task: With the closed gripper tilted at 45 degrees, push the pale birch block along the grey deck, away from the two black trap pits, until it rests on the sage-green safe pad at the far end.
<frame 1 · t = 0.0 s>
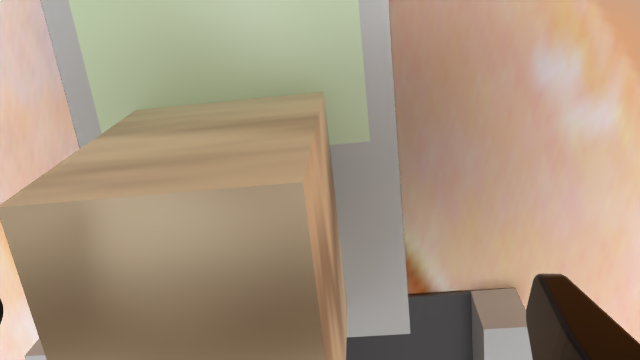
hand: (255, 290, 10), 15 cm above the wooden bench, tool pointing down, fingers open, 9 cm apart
trap deck: (267, 236, 27), on the wooden bench
birch block: (247, 213, 23), point 3 cm above the wooden bench, touching trap deck
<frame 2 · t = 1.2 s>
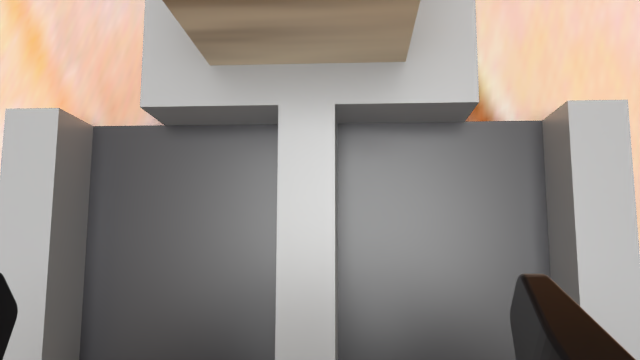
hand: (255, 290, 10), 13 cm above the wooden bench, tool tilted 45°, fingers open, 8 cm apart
trap deck: (313, 42, 24), on the wooden bench
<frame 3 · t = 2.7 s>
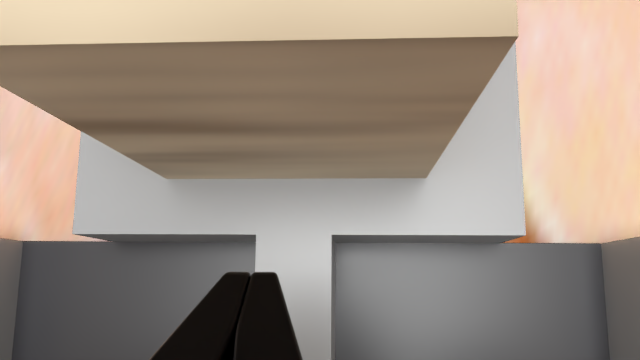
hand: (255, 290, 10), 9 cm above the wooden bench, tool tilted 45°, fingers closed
trap deck: (305, 134, 19), on the wooden bench
birch block: (297, 21, 17), point 3 cm above the wooden bench, touching trap deck
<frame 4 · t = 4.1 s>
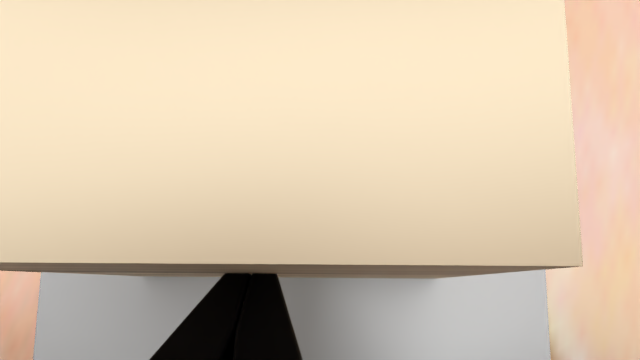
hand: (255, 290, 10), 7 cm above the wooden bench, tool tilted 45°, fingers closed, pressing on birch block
trap deck: (299, 254, 17), on the wooden bench
birch block: (289, 94, 15), point 3 cm above the wooden bench, touching gripper
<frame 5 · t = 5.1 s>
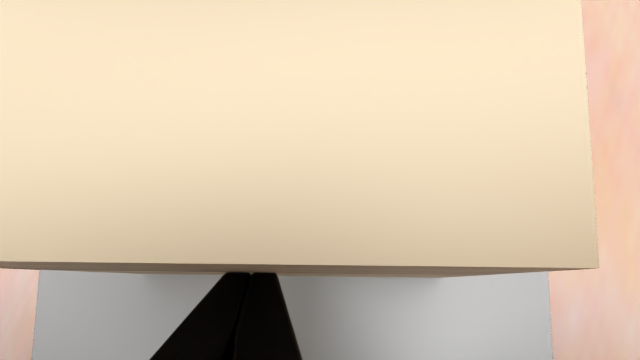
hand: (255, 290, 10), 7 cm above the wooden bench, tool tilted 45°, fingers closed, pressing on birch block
birch block: (293, 91, 15), point 3 cm above the wooden bench, touching gripper, trap deck
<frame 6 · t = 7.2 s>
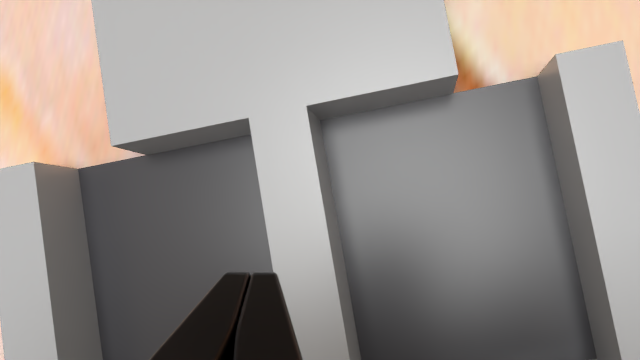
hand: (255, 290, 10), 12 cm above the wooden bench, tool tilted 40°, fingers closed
trap deck: (280, 39, 23), on the wooden bench
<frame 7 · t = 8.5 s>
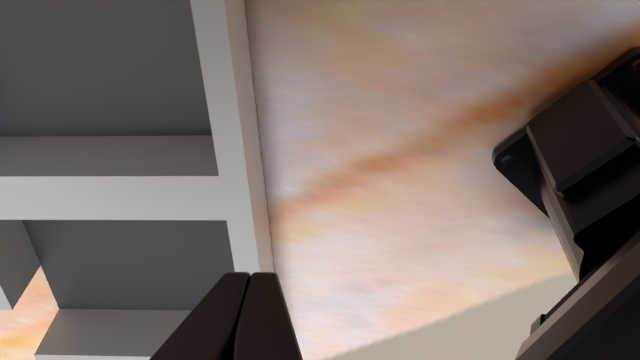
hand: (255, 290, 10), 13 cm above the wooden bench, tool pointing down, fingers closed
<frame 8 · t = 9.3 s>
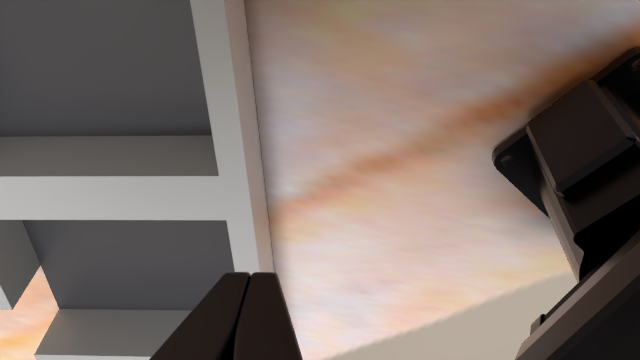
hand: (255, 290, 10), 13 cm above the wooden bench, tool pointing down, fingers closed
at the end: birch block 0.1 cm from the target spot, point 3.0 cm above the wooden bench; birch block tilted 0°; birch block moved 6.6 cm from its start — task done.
